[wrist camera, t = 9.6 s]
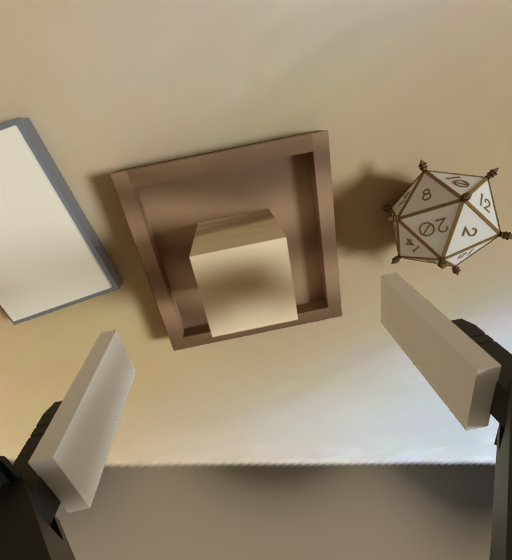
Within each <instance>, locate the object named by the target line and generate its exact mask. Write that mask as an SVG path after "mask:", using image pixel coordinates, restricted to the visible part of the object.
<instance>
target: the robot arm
mask: <svg viewBox="0 0 512 560" xmlns="http://www.w3.org/2000/svg"><path fill="white" fill-rule="evenodd" d="M381 323H382V324H383V325H384V327H385V328H386V329H387V330H388V332H389V333H390V334H391V335H392V337H393V338H394V339H395V341H396V342H397V343H398V344H399V346H400V347H401V348H402V349H403V351H404V352H405V353H406V355H407V356H408V357H409V358H410V360H411V361H412V362H413V364H414V365H415V366H416V367H417V369H418V370H419V371H420V372H421V374H422V375H423V376H424V378H425V379H426V380H427V381H428V383H429V384H430V385H431V386H432V388H433V389H434V390H435V392H436V393H437V394H438V395H439V397H440V398H441V399H442V400H443V402H444V403H445V404H446V406H447V407H448V408H449V409H450V411H451V412H452V413H453V414H454V416H455V417H456V418H457V420H458V421H459V422H460V423H461V425H462V426H463V427H464V429H465V430H471V429H476V428H480V427H485V426H488V423H489V419H490V414H491V415H492V416H493V417H494V418H495V419H496V420H497V421H498V422H499V427H498V431H497V435H496V439H495V443H494V444H495V445H497V452H496V469H495V484H494V501H493V517H492V532H491V548H490V560H512V354H510V353H509V352H508V351H507V350H505V349H504V348H503V347H502V346H500V345H499V344H498V343H497V342H494V340H493V339H492V338H491V337H489V336H488V335H486V334H485V333H484V332H483V331H482V330H481V329H480V328H478V327H477V326H476V325H474V324H472V323H470V322H468V321H465V320H463V319H457V320H452V321H450V320H449V319H448V318H447V317H446V316H445V315H444V314H443V313H441V312H440V311H439V310H438V309H437V308H436V307H435V306H433V305H432V304H431V303H430V302H429V301H428V300H427V299H426V298H424V297H423V296H422V295H421V294H420V293H419V292H418V291H416V290H415V289H414V288H413V287H412V286H411V285H410V284H409V283H407V282H406V281H405V280H404V279H403V278H402V277H401V276H399V275H398V274H397V273H393V274H388V275H384V276H381ZM135 373H136V371H135V369H134V367H133V365H132V363H131V361H130V358H129V356H128V354H127V352H126V350H125V348H124V345H123V343H122V341H121V339H120V337H119V335H118V332H117V330H113V331H108V332H103V333H100V335H99V337H98V339H97V341H96V342H95V344H94V346H93V348H92V349H91V351H90V353H89V355H88V357H87V358H86V360H85V362H84V364H83V366H82V367H81V369H80V371H79V373H78V374H77V376H76V378H75V380H74V382H73V383H72V385H71V387H70V389H69V390H68V392H67V394H66V396H65V398H64V399H63V401H60V402H55V403H54V404H53V405H52V406H51V407H50V408H49V409H48V410H47V411H46V412H45V413H44V414H43V416H42V417H41V419H40V421H39V422H38V424H37V427H36V428H35V429H34V431H33V432H32V434H31V438H29V439H28V441H27V442H26V444H25V446H24V447H23V449H22V451H21V452H20V454H19V455H18V457H17V459H16V460H15V462H14V464H13V465H12V464H11V462H10V461H9V460H8V459H7V458H6V457H5V456H0V560H75V558H74V555H73V552H72V550H71V548H70V545H69V543H68V540H67V538H66V536H65V533H64V531H63V528H62V526H61V524H60V521H59V520H58V518H57V517H56V516H55V514H56V512H57V509H58V507H59V505H60V503H61V505H62V506H63V507H64V508H65V510H66V511H67V512H68V513H69V512H73V511H78V510H83V509H88V508H90V507H91V504H92V501H93V498H94V494H95V492H96V489H97V486H98V483H99V480H100V477H101V474H102V471H103V468H104V465H105V462H106V459H107V456H108V453H109V450H110V447H111V444H112V441H113V438H114V435H115V432H116V430H117V427H118V424H119V421H120V418H121V415H122V412H123V409H124V406H125V403H126V400H127V397H128V394H129V391H130V388H131V385H132V382H133V379H134V376H135Z"/></svg>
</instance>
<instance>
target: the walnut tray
mask: <svg viewBox="0 0 512 560" xmlns="http://www.w3.org/2000/svg"><path fill="white" fill-rule="evenodd" d="M110 175H111V178H112V181H113V183H114V186H115V189H116V192H117V195H118V197H119V200H120V203H121V206H122V208H123V211H124V214H125V217H126V219H127V222H128V225H129V228H130V231H131V233H132V236H133V239H134V242H135V244H136V247H137V250H138V253H139V255H140V258H141V261H142V264H143V267H144V269H145V272H146V275H147V278H148V280H149V283H150V286H151V289H152V291H153V294H154V297H155V300H156V303H157V305H158V308H159V311H160V314H161V316H162V319H163V322H164V325H165V327H166V330H167V333H168V336H169V339H170V341H171V344H172V347H173V350H174V351H175V350H180V349H184V348H189V347H194V346H199V345H204V344H209V343H213V342H218V341H223V340H228V339H233V338H238V337H242V336H247V335H252V334H257V333H262V332H267V331H271V330H276V329H281V328H286V327H291V326H296V325H300V324H305V323H310V322H315V321H320V320H324V319H329V318H334V317H339V316H342V311H341V298H340V284H339V271H338V258H337V245H336V231H335V218H334V205H333V191H332V178H331V165H330V152H329V138H328V131H320V130H319V131H314V132H309V133H304V134H299V135H294V136H289V137H284V138H279V139H274V140H269V141H264V142H259V143H254V144H249V145H244V146H239V147H234V148H229V149H224V150H219V151H214V152H209V153H204V154H199V155H194V156H189V157H184V158H179V159H174V160H169V161H164V162H159V163H154V164H149V165H144V166H139V167H134V168H129V169H124V170H120V171H117V172H115V173H112V174H110ZM268 208H269V209H270V211H271V213H272V214H273V216H274V218H275V219H276V221H277V223H278V224H279V226H280V228H281V229H282V231H283V233H284V234H285V236H286V239H287V246H288V253H289V260H290V267H291V273H292V280H293V287H294V294H295V301H296V308H297V315H298V320H293V321H289V322H284V323H279V324H274V325H269V326H264V327H259V328H255V329H250V330H245V331H240V332H235V333H230V334H226V335H221V336H216V337H212V334H211V330H210V327H209V323H208V320H207V317H206V313H205V310H204V306H203V303H202V299H201V296H200V292H199V289H198V285H197V282H196V278H195V275H194V272H193V268H192V265H191V261H190V258H189V256H190V252H191V248H192V244H193V240H194V237H195V233H196V229H197V225H198V223H199V222H204V221H209V220H214V219H219V218H224V217H229V216H234V215H239V214H244V213H249V212H254V211H259V210H264V209H268Z"/></svg>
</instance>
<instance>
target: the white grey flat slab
mask: <svg viewBox="0 0 512 560" xmlns="http://www.w3.org/2000/svg"><path fill="white" fill-rule="evenodd" d="M122 283H123V281H122V279H121V277H120V276H119V274H118V272H117V270H116V269H115V267H114V265H113V263H112V262H111V260H110V258H109V256H108V255H107V253H106V251H105V249H104V248H103V246H102V244H101V242H100V241H99V239H98V237H97V236H96V234H95V232H94V230H93V229H92V227H91V225H90V223H89V222H88V220H87V218H86V216H85V215H84V213H83V211H82V209H81V208H80V206H79V204H78V202H77V201H76V199H75V197H74V196H73V194H72V192H71V190H70V189H69V187H68V185H67V183H66V182H65V180H64V178H63V176H62V175H61V173H60V171H59V169H58V168H57V166H56V164H55V162H54V161H53V159H52V157H51V156H50V154H49V152H48V150H47V149H46V147H45V145H44V143H43V142H42V140H41V138H40V136H39V135H38V133H37V131H36V129H35V128H34V126H33V124H32V122H31V121H30V119H29V118H15V119H13V120H10V121H8V122H5V123H2V124H0V308H1V309H2V310H3V311H4V313H5V314H6V315H7V316H8V318H9V319H10V320H11V321H12V323H13V324H14V325H15V324H18V323H21V322H24V321H27V320H29V319H32V318H35V317H38V316H41V315H44V314H47V313H50V312H53V311H55V310H58V309H61V308H64V307H67V306H70V305H73V304H76V303H78V302H81V301H84V300H87V299H90V298H93V297H96V296H99V295H101V294H104V293H107V292H110V291H113V290H116V289H119V287H120V286H121V284H122Z"/></svg>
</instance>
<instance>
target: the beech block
mask: <svg viewBox="0 0 512 560" xmlns="http://www.w3.org/2000/svg"><path fill="white" fill-rule="evenodd" d="M189 258H190V261H191V265H192V268H193V272H194V275H195V278H196V282H197V285H198V289H199V292H200V296H201V299H202V303H203V306H204V310H205V313H206V317H207V320H208V323H209V327H210V330H211V334H212V337H216V336H221V335H226V334H230V333H235V332H240V331H245V330H250V329H255V328H259V327H264V326H269V325H274V324H279V323H284V322H289V321H293V320H298V315H297V308H296V301H295V294H294V287H293V280H292V273H291V267H290V260H289V253H288V246H287V239H286V236H285V234H284V233H283V231H282V229H281V228H280V226H279V224H278V223H277V221H276V219H275V218H274V216H273V214H272V213H271V211H270V209H269V208H268V209H264V210H259V211H254V212H249V213H244V214H239V215H234V216H229V217H224V218H219V219H214V220H209V221H204V222H199V223H198V225H197V229H196V233H195V237H194V240H193V244H192V248H191V252H190V256H189Z"/></svg>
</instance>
